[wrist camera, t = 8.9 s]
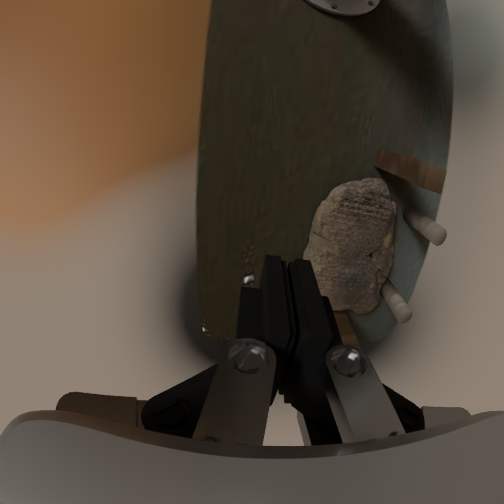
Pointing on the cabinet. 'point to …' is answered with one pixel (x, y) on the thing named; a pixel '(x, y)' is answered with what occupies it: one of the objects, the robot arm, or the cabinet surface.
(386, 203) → the clay tablet
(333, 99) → the cabinet surface
